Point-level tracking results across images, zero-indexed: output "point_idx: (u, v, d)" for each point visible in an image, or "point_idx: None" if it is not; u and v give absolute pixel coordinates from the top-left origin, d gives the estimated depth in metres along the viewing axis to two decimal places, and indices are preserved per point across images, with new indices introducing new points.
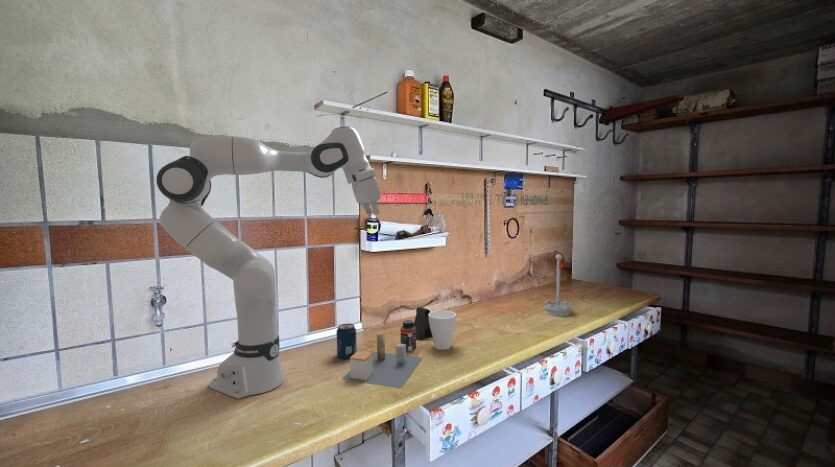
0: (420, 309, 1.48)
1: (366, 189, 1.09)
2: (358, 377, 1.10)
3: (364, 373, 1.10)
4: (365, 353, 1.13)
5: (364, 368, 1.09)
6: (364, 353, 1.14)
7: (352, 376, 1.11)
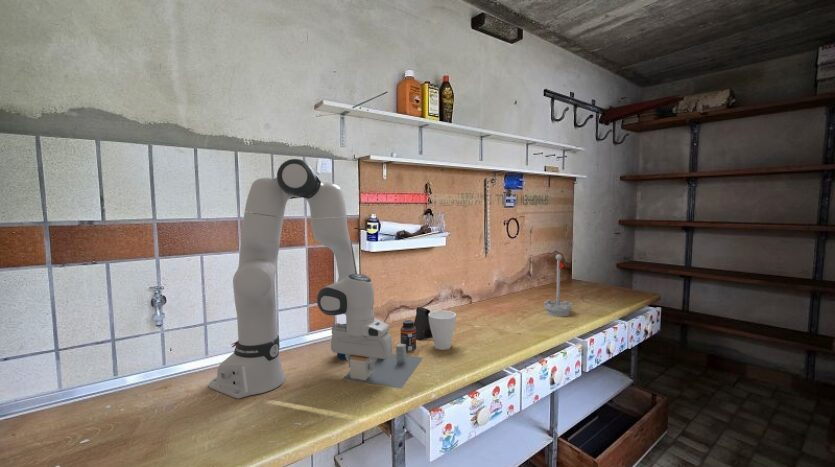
0: (420, 309, 1.48)
1: (387, 345, 1.07)
2: (358, 377, 1.10)
3: (364, 373, 1.10)
4: None
5: (364, 368, 1.09)
6: None
7: (352, 376, 1.11)
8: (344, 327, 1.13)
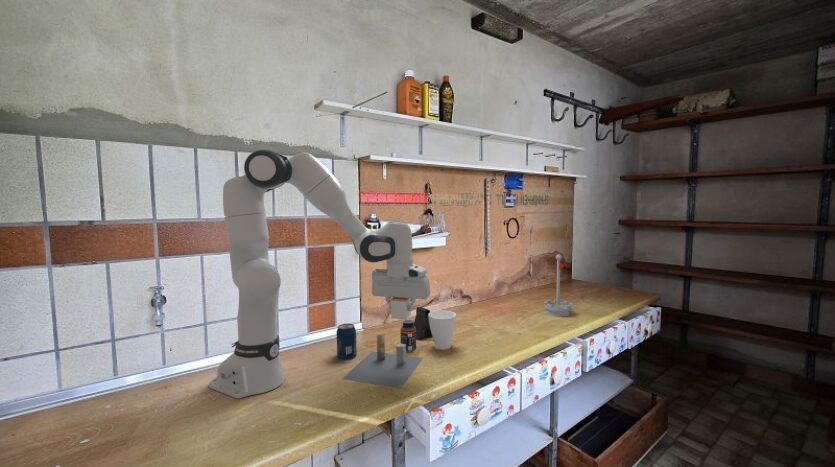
0: (420, 309, 1.48)
1: (426, 286, 1.15)
2: (398, 317, 1.18)
3: (404, 313, 1.17)
4: None
5: (404, 308, 1.17)
6: None
7: (392, 316, 1.18)
8: (384, 272, 1.20)
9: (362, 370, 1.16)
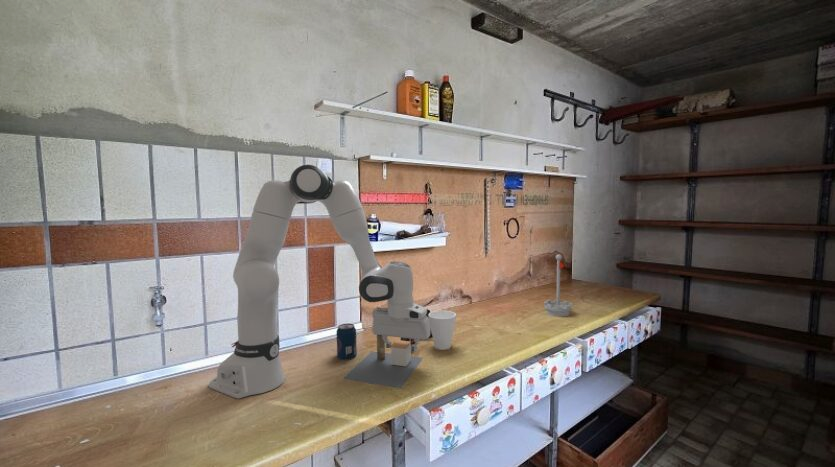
0: None
1: (426, 327, 1.16)
2: (399, 364, 1.19)
3: (405, 360, 1.18)
4: (405, 342, 1.22)
5: (405, 355, 1.18)
6: (403, 342, 1.22)
7: (393, 363, 1.20)
8: (385, 311, 1.21)
9: (362, 370, 1.16)
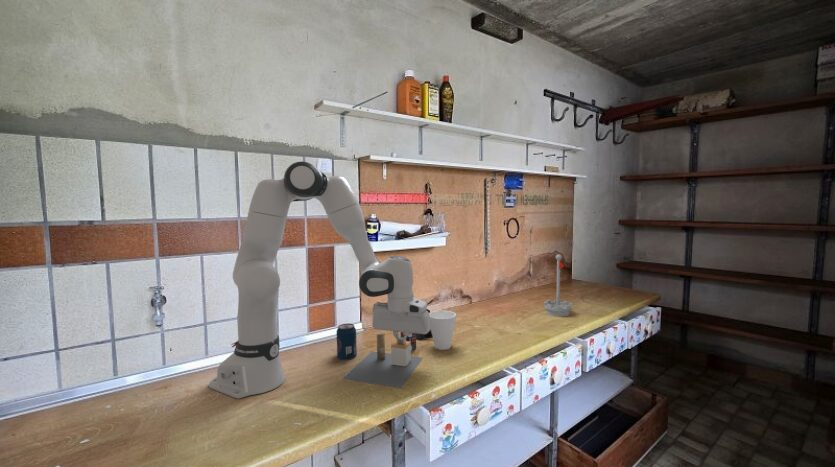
0: None
1: (426, 321, 1.16)
2: (399, 364, 1.19)
3: (404, 360, 1.18)
4: None
5: (405, 355, 1.18)
6: None
7: (393, 363, 1.20)
8: (385, 305, 1.21)
9: (362, 370, 1.16)
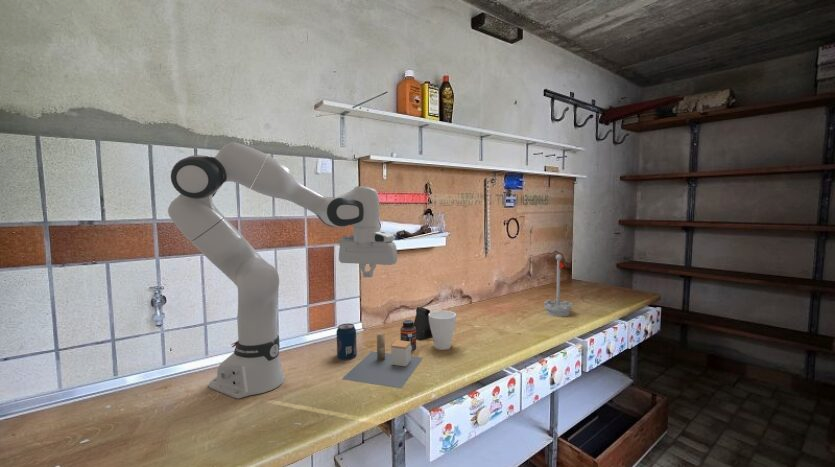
0: (420, 309, 1.48)
1: (392, 251, 1.13)
2: (399, 364, 1.19)
3: (405, 360, 1.18)
4: (405, 342, 1.22)
5: (405, 355, 1.18)
6: (403, 342, 1.22)
7: (393, 363, 1.20)
8: (351, 238, 1.19)
9: (362, 370, 1.16)
